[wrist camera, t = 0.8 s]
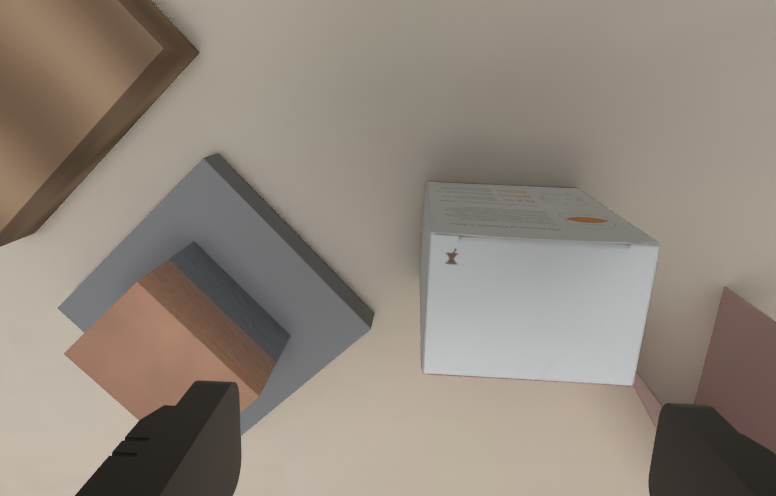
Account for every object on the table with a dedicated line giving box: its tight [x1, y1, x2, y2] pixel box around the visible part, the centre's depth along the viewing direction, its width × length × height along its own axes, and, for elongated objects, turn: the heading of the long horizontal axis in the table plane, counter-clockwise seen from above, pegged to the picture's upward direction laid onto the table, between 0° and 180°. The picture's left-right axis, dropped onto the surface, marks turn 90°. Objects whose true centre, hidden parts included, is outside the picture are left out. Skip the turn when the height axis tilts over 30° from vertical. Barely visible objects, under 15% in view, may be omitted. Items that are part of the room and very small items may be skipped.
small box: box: [420, 182, 661, 386], centre depth 25 cm, size 8×6×10 cm
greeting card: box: [633, 287, 776, 454], centre depth 24 cm, size 11×7×15 cm, turn 176°
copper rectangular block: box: [64, 241, 291, 421], centre depth 27 cm, size 5×7×6 cm
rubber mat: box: [58, 153, 374, 435], centre depth 31 cm, size 12×12×2 cm
